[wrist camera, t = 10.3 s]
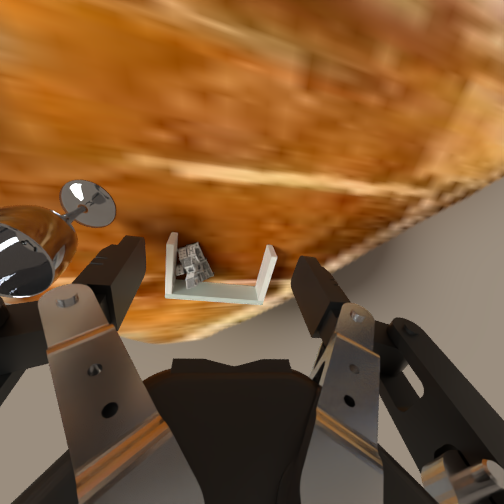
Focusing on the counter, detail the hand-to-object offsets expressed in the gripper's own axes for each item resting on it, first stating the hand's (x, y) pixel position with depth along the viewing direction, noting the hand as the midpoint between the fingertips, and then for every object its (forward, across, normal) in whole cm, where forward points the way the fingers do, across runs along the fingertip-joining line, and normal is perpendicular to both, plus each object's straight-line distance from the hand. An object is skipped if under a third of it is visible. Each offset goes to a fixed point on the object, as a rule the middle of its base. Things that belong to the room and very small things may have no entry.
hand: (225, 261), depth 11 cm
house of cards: (+24, +5, +16) cm, 29 cm away
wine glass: (+24, +18, +8) cm, 31 cm away
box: (+23, -2, +16) cm, 28 cm away
